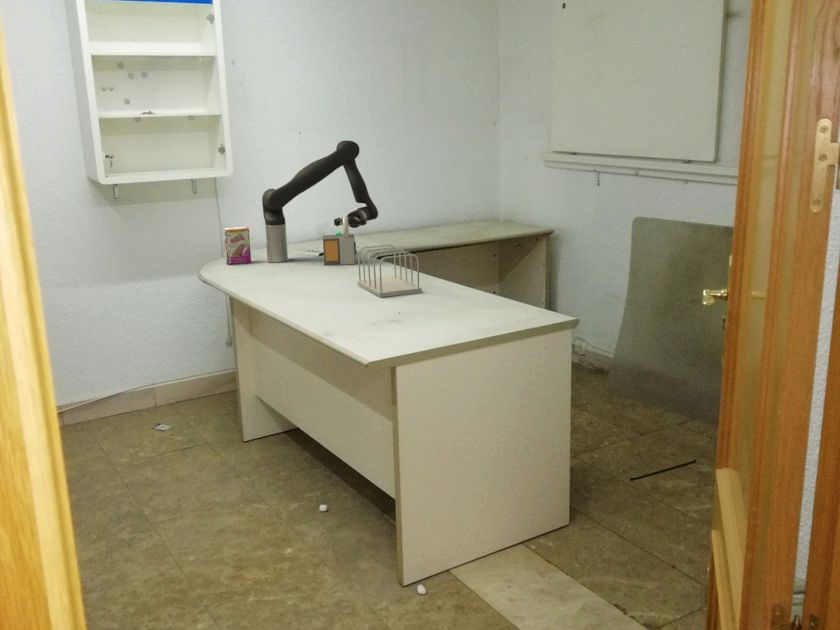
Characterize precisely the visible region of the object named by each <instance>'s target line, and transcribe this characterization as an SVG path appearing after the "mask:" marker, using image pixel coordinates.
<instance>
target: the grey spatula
mask: <svg viewBox="0 0 840 630" xmlns="http://www.w3.org/2000/svg"><path fill="white" fill-rule="evenodd" d="M342 218H343V226H342V228H343V229H342V230H343V233H342V235H344V238H339V244H340V264H343V265H356V258H355V259H354V242H355V236H354V237H349V234H350V232H349V231H350V230H349V228H350V226H348V217H347V216H345V217H344V216H343V217H342Z"/></svg>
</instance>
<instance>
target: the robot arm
mask: <svg viewBox="0 0 840 630" xmlns="http://www.w3.org/2000/svg"><path fill="white" fill-rule="evenodd" d="M335 149H336V150H334V151H333V152H332V153H330V154H328V155H326V156H324V157H321V158H319V159H316V160H315V161H313V162H311V163H309V164H307V165H306V166H305V167H303V168H302V169H300V170H299V171H298V172H296V174H295V175H294V176H293V177H292V178H291V179H290V180H289V181H288V182H286V183H285V184H283V185H282V186H280V187H278V188H276V189H275V188H268V189H267V190H265V191H264V192H263V193H262V198H261V202H262V213H263V219H264V224H265V235H266V237H265V238H266V241H265V242H266V244H265V245H266V255H267V256H266V257H267V263H283V262H288V261H289V255H288V254H289V252H288V242H287V241H288V239H287V227H286V217H285V216H284V215H285V214H284V211H283V210H284V209H283V208H284V207H285V206H287V204H289V203H290V202H291V201H292V200H294V199H295V198H296V197H297V196H299V195H301V194H302V193H305V192H306V191H307V190H309V189H310V188H312V187H314V186H315V185H317V184H318V183H320V182H321V181H322V180H324V179H325V178H327V177H328V176H330V175H331V174H333V173H334V172H335V171H336V170H337V169H339V168H341V167H343V168H344V171H345V174H346V177H347V179H348V183H349V185H350V188H351V192H352V194H353V197H354V200H355V202H356V203H357V204H365V205H366V206H360V207H358V208H356V210H353V211H351V212H349V213H347V215H346V217H348V226H349V228H351V229H357V228H359V227H361V226H366V224H368V222H369V221H373V220H376V219H377V218H378V216H379V210H378V207H377V206H376V205H375V203H374V201H373V200H372V197H371V196H370V194H369V191H368V187H367V185H366V182H365V180H364V178H363V176H362V174H361V172H360V170H359V167H358V166H357V162H356V159H357V158H358V156H360V155H359V154H360V151H361V150H360V146H359V144H358V143H357V142H355V141H353V140H341V141H340V142H338V143H337V145H336V147H335ZM333 224H334V226H336V227H339V226H342V227H343V217H336V218H334V219H333Z"/></svg>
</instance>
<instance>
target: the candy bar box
mask: <svg viewBox="0 0 840 630" xmlns="http://www.w3.org/2000/svg"><path fill="white" fill-rule="evenodd" d="M222 232H223V242H224V244H223V245H224V254H225V255H224V256H225V257H224V258H225V264H226V265H228V266H230V265H240V263H241V264H249V263H250V264H251V263H252V255H251V242H250V241H251V239H250V228H249V227H248V226H239V227H226V228H225V227H224V228H223V231H222Z"/></svg>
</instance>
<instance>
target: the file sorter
mask: <svg viewBox="0 0 840 630" xmlns="http://www.w3.org/2000/svg"><path fill="white" fill-rule="evenodd" d="M373 248H374V249H373ZM363 249H367V250H366V251H364V252H363V254H362V268H363V280H361V279H362V278H361V274H362V273H361V259H360V258H361V255H360V253H361V251H362V250H363ZM368 252H369V255H368V257H367V270H368V271H367V272H368V279H366V265H365V255H366V254H367V253H368ZM370 252H371V253H370ZM374 254H377V255H376V256H374V259H373V265H372V266H373V278H372V279H371V269H370V268H371V267H370V266H371V265H370V258H371V256H372V255H374ZM382 256H383V257H382ZM379 257H382V258H381V259H380V260H379V278H377V277H376V276H377V274H376V273H377V272H376V260H377V258H379ZM407 257H409V260H410V277H411V278H410V280H411V282H409V281H408V271H407V269H408V268H407ZM412 257H415V258H416V265H417V266H416V269H417V285H415V284H414V277H413V275H414V274H413V273H414V272H413V258H412ZM357 258H358V259H357V260H358V261H357V263H358V280H356V281H357V283H356V284H357V286H359V287H361V288H363V289H365V290H366V291H368V292H370V293H371V294H373V295H376V296H377V297H379V298H385V297H386V296H387V297H393V296H404V295H409V294H419V293H422V290H423V289H422V287H420V263H419V262H420V261H419V260H420V259H419V258H418V256H417V254H414V253H412V254H411V252H410V251H407V250H406V251H405V250H404V249H402V248H398V247H397V246H394V245H393V244H379V245H378V244H377V245H372V246H371V245H370V246H368V245H367V246H363V247H361V248H360V249H359V250H358V252H357ZM397 258H399V259H398V260H399V277H398V276H397V264H396V263H397V262H396V259H397ZM402 258H404V270H405V279H402V278H403V277H402ZM386 259H393V263H394V267H393V268H394V276H393V277H392V276H391V277H390V276H389V277H382V262H383V261H384V260H386Z"/></svg>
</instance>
